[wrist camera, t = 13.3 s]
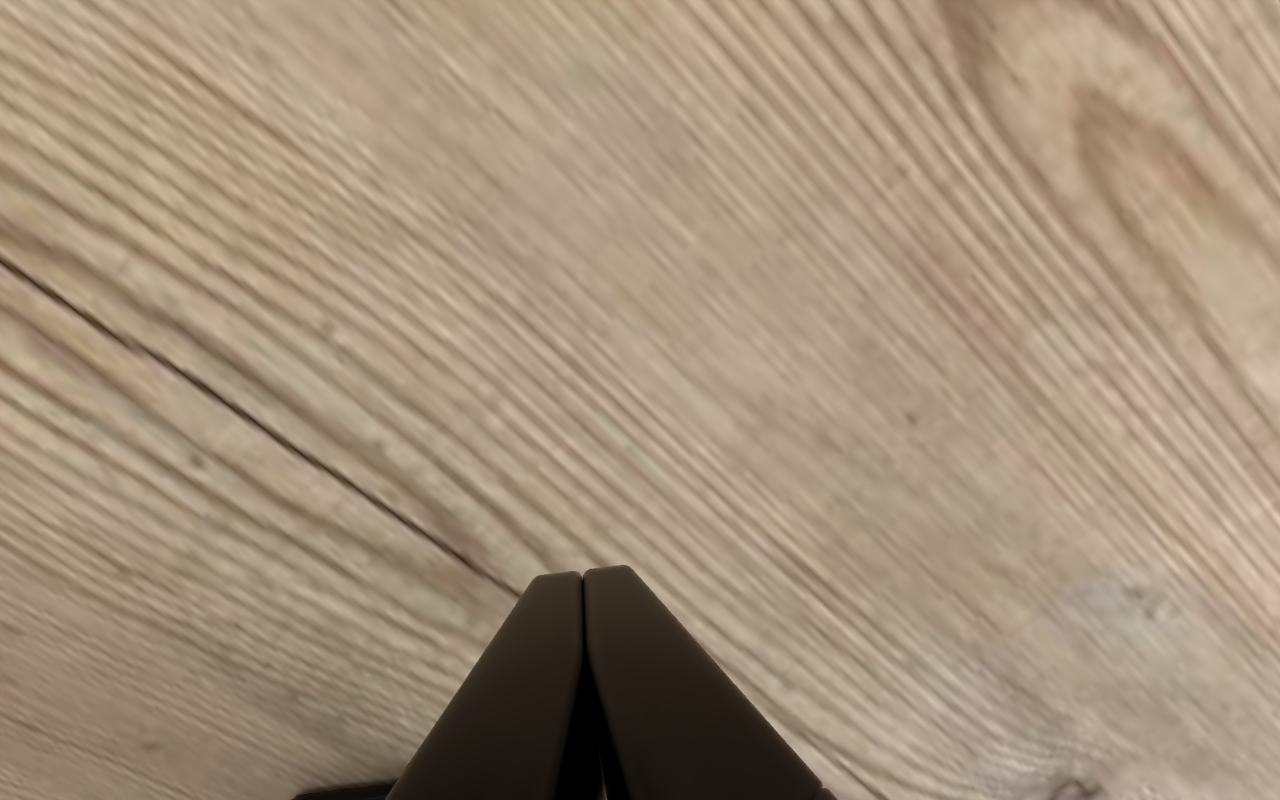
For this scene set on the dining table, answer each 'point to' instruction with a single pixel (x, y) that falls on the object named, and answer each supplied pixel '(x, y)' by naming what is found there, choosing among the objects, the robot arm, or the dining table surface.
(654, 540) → the dining table surface
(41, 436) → the dining table surface
